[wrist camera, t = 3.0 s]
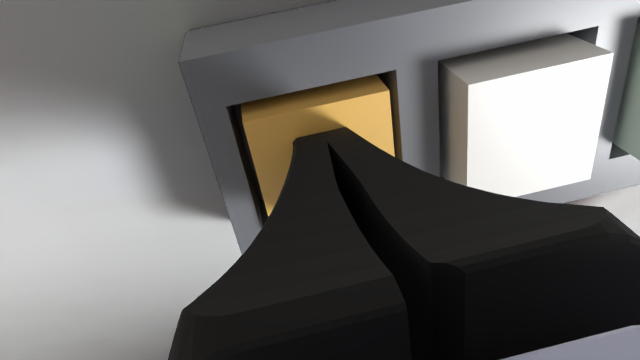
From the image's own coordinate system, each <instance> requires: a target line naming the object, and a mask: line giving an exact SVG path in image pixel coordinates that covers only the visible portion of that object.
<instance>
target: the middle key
mask: <svg viewBox="0 0 640 360" xmlns="http://www.w3.org/2000/svg"><path fill="white" fill-rule="evenodd" d="M613 54H614V53H613V52H610V51H608V50H606V49H603V48H601V47H598V46H596V45H594V44H591V43H589V42H587V41H584V40H582V39H579V38H577V37H575V36H572V35H570V34H568V33H563V34H559V35H554V36H550V37H545V38H540V39H536V40H531V41H526V42H522V43H517V44H513V45H508V46H503V47H499V48H494V49H489V50H485V51H480V52H476V53H471V54H466V55H462V56H457V57H453V58H448V59H443V60H439V61H438V99H439V145H440V174H441V176H442V177H443V178H444V179H446V180H449V181H452V182H455V183H458V184H462V185H465V186H468V187H472V188H476V189H480V190H484V191H488V192H492V193H496V194H501V195H506V196H511V197H517V196H521V195H526V194H530V193H534V192H538V191H542V190H547V189H551V188H555V187H559V186H564V185H568V184H572V183H576V182H580V181H585V180H589V179H591V173H592V168H593V162H594V157H595V152H596V146H597V141H598V135H599V130H600V125H601V119H602V114H603V108H604V103H605V98H606V92H607V87H608V81H609V76H610V71H611V65H612V60H613Z"/></svg>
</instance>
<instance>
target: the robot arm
mask: <svg viewBox="0 0 640 360" xmlns="http://www.w3.org/2000/svg"><path fill="white" fill-rule="evenodd" d="M168 360H640V237H639V236H638V235H637V234H636V233H634V232H633V231H632V230H631V229H630V228H628V227H627V226H626V225H625V224H624V223H622V222H621V221H620V220H619V219H618V218H616V217H615V216H614V215H613V214H612V213H610V212H609V211H608V210H606V209H605V208H604V207H595V206H584V205H572V204H561V203H550V202H542V201H535V200H529V199H523V198H517V197H511V196H506V195H501V194H496V193H492V192H488V191H484V190H480V189H476V188H472V187H468V186H465V185H462V184H458V183H455V182H452V181H449V180H446V179H444V178H441V177H438V176H435V175H433V174H430V173H428V172H425V171H423V170H420V169H418V168H416V167H414V166H412V165H410V164H408V163H406V162H404V161H402V160H400V159H398V158H396V157H394V156H392V155H390V154H388V153H387V152H385V151H383V150H382V149H380V148H378V147H376V146H375V145H373V144H372V143H370V142H368V141H367V140H365V139H364V138H362V137H361V136H359V135H358V134H356V133H355V132H353V131H352V130H350V129H349V128H347V127H342V128H338V129H334V130H329V131H325V132H320V133H316V134H311V135H307V136H302V137H298V138H296V139H295V140H294V142H293V153H292V158H291V163H290V166H289V170H288V173H287V176H286V180H285V182H284V185H283V187H282V190H281V192H280V195H279V197H278V199H277V202H276V204H275V206H274V208H273V210H272V212H271V214H270V215H269V217H268V219H267V221H266V222H265V224H264V226H263V227H262V229H261V230H260V232H259V233H258V235H257V236H256V237H255V239H254V240H253V242H252V243H251V245H250V246H249V247H248V249H247V250H246V251H245V252H244V254H243V255H242V256H241V257H240V258H239V259H238V260H237V261H236V263H235V264H234V265H233V266H232V267H231V268H230V269H229V270H228V271H227V272H226V273H225V274H224V275H223V276H222V277H221V278H220V279H219V280H218V281H216V282H215V283H214V284H213V285H212V286H211V287H209V288H208V289H207V290H206V291H205V292H204V293H202V294H201V295H200V296H199V297H198V298H197V299H195V300H194V301H193V302H192V303H191V304H189V305H188V306H187V307H185V308H184V309H183V310H182V312H181V315H180V318H179V321H178V325H177V328H176V332H175V335H174V339H173V343H172V346H171V350H170V354H169V358H168Z"/></svg>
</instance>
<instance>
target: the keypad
mask: <svg viewBox="0 0 640 360" xmlns="http://www.w3.org/2000/svg"><path fill="white" fill-rule="evenodd" d="M638 17H640V0H335V1H330V2H325V3H320V4H315V5H310V6H305V7H301V8H296V9H291V10H286V11H281V12H276V13H271V14H267V15H262V16H257V17H252V18H247V19H242V20H237V21H232V22H228V23H223V24H218V25H213V26H208V27H203V28H198V29H194V30H189V31H186V35H185V38H184V42H183V46H182V50H181V54H180V58H179V65H180V68H181V71H182V74H183V77H184V80H185V83H186V87H187V90H188V93H189V96H190V99H191V102H192V105H193V108H194V111H195V114H196V117H197V120H198V123H199V126H200V129H201V132H202V135H203V138H204V141H205V144H206V147H207V150H208V153H209V156H210V159H211V162H212V165H213V168H214V171H215V175H216V178H217V181H218V184H219V187H220V190H221V193H222V196H223V199H224V202H225V205H226V208H227V211H228V214H229V217H230V220H231V223H232V226H233V229H234V232H235V235H236V238H237V241H238V244H239V247H240V250H241V253H242V255H243V254H244V252H245V251H246V250H247V249H248V247H249V246H250V245H251V243H252V242H253V240H254V239H255V237H256V236H257V235H258V233H259V232H260V230H261V229H262V227H263V226H264V224H265V222H266V221H267V219H268V214H267V210H266V207H265V203H264V199H263V196H262V192H261V188H260V185H259V181H258V177H257V174H256V170H255V166H254V163H253V159H252V155H251V152H250V148H249V144H248V141H247V137H246V133H245V130H244V126H243V122H242V110H241V103H245V102H249V101H254V100H258V99H263V98H268V97H272V96H277V95H282V94H286V93H291V92H295V91H300V90H305V89H309V88H314V87H319V86H323V85H328V84H332V83H337V82H342V81H346V80H351V79H356V78H360V77H365V76H369V75H374V74H376V75H377V76H378V77H379V78H380V80H381V81H382V82H383V83H384V84H385V86H386V87H387V88H388V89H389V92H390V104H391V117H392V129H393V141H394V153H395V157H396V158H398V159H400V160H402V161H404V162H406V163H408V164H410V165H412V166H414V167H416V168H418V169H420V170H423V171H425V172H428V173H430V174H433V175H435V176H438V177H441V178H443V177H442V176H441V174H440V145H439V99H438V61H439V60H443V59H448V58H453V57H457V56H462V55H466V54H471V53H476V52H480V51H485V50H489V49H494V48H499V47H503V46H508V45H513V44H517V43H522V42H526V41H531V40H536V39H540V38H545V37H550V36H554V35H559V34H563V33H568V34H570V35H572V36H575V37H577V38H579V39H582V40H584V41H587V42H589V43H591V44H594V45H596V46H598V47H601V48H603V49H606V50H608V51H610V52H613V53H614V54H613V60H612V65H611V71H610V76H609V81H608V87H607V92H606V98H605V103H604V108H603V114H602V119H601V125H600V130H599V135H598V141H597V146H596V152H595V157H594V162H593V168H592V173H591V179H589V180H585V181H580V182H576V183H572V184H568V185H564V186H559V187H555V188H551V189H547V190H542V191H538V192H534V193H530V194H526V195H521V196H517V198H523V199H529V200H535V201H542V202H550V203H565V202H570V201H574V200H578V199H582V198H586V197H590V196H595V195H599V194H603V193H607V192H611V191H615V190H620V189H624V188H628V187H632V186H636V185H640V160H638V159H637V158H635V157H633V156H632V155H630V154H629V153H627V152H626V151H624V150H623V149H621V148H620V147H618V146H617V145H615V144H614V143H612V141H613V137H614V132H615V127H616V122H617V117H618V112H619V107H620V102H621V98H622V93H623V88H624V83H625V78H626V73H627V68H628V63H629V59H630V54H631V49H632V44H633V39H634V34H635V29H636V24H637V20H638Z"/></svg>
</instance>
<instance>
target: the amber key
mask: <svg viewBox="0 0 640 360" xmlns="http://www.w3.org/2000/svg"><path fill="white" fill-rule="evenodd" d="M241 110H242V122H243V126H244V130H245V133H246V137H247V141H248V144H249V148H250V152H251V155H252V159H253V163H254V166H255V170H256V174H257V177H258V181H259V185H260V188H261V192H262V196H263V199H264V203H265V207H266V210H267V214H268V217H269V215H270V214H271V212H272V210H273V208H274V206H275V204H276V202H277V199H278V197H279V195H280V192H281V190H282V187H283V185H284V182H285V180H286V176H287V173H288V170H289V166H290V163H291V158H292V153H293V142H294V140H295V139H296V138H298V137H302V136H307V135H311V134H316V133H320V132H325V131H329V130H334V129H338V128H342V127H347V128H349V129H350V130H352V131H353V132H355V133H356V134H358V135H359V136H361V137H362V138H364V139H365V140H367V141H368V142H370V143H372V144H373V145H375V146H376V147H378V148H380V149H382V150H383V151H385V152H387V153H388V154H390V155H392V156H394V157H395V153H394V141H393V129H392V117H391V104H390V92H389V89H388V88H387V87H386V86H385V84H384V83H383V82H382V81H381V80H380V78H379V77H378V76H377V75H376V74H374V75H369V76H365V77H360V78H356V79H351V80H346V81H342V82H337V83H332V84H328V85H323V86H319V87H314V88H309V89H305V90H300V91H295V92H291V93H286V94H282V95H277V96H272V97H268V98H263V99H258V100H254V101H249V102H245V103H241Z"/></svg>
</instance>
